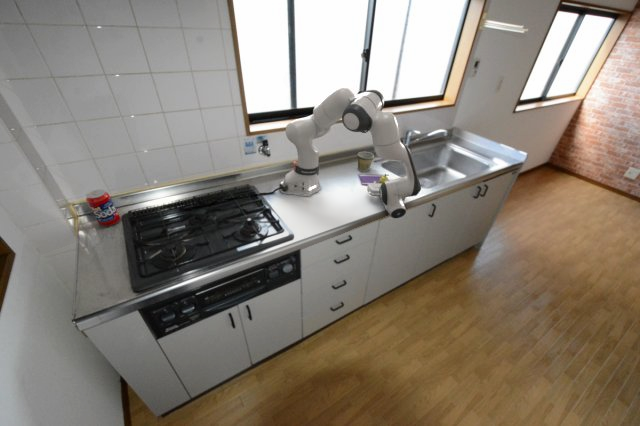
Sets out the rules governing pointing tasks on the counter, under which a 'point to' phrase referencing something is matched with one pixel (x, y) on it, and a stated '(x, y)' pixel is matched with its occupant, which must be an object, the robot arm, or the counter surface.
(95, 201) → the soda can
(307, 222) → the counter surface
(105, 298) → the counter surface
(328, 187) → the counter surface
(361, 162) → the ceramic cup
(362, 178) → the towel
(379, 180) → the green grape bunch
